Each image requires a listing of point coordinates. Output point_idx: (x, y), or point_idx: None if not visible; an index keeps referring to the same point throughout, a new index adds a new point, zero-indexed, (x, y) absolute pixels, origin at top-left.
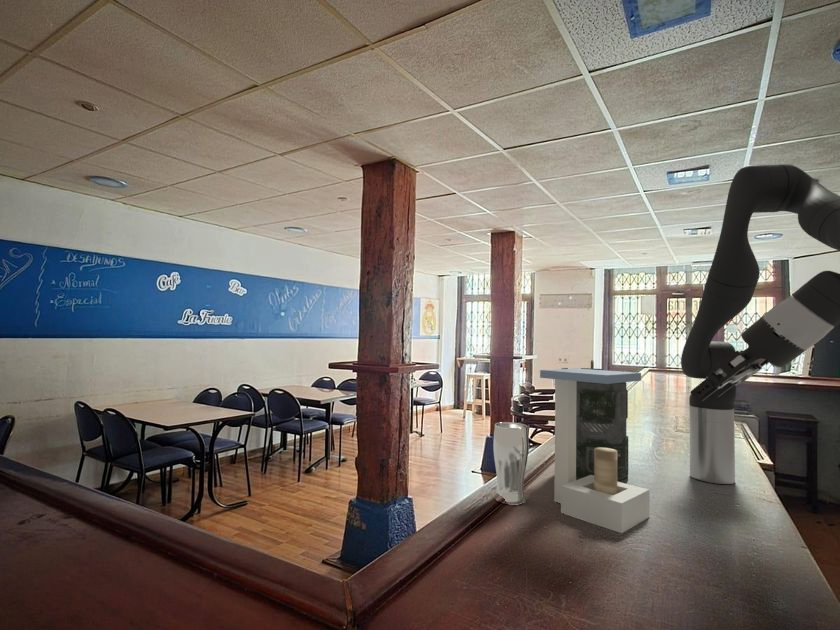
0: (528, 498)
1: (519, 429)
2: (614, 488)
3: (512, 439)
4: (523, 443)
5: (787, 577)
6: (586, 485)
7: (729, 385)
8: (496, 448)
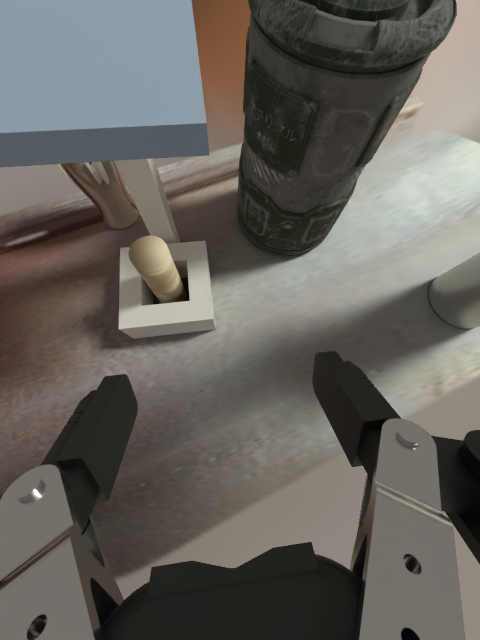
0: None
1: None
2: (160, 295)
3: None
4: (72, 164)
5: (169, 512)
6: None
7: (345, 449)
8: None
